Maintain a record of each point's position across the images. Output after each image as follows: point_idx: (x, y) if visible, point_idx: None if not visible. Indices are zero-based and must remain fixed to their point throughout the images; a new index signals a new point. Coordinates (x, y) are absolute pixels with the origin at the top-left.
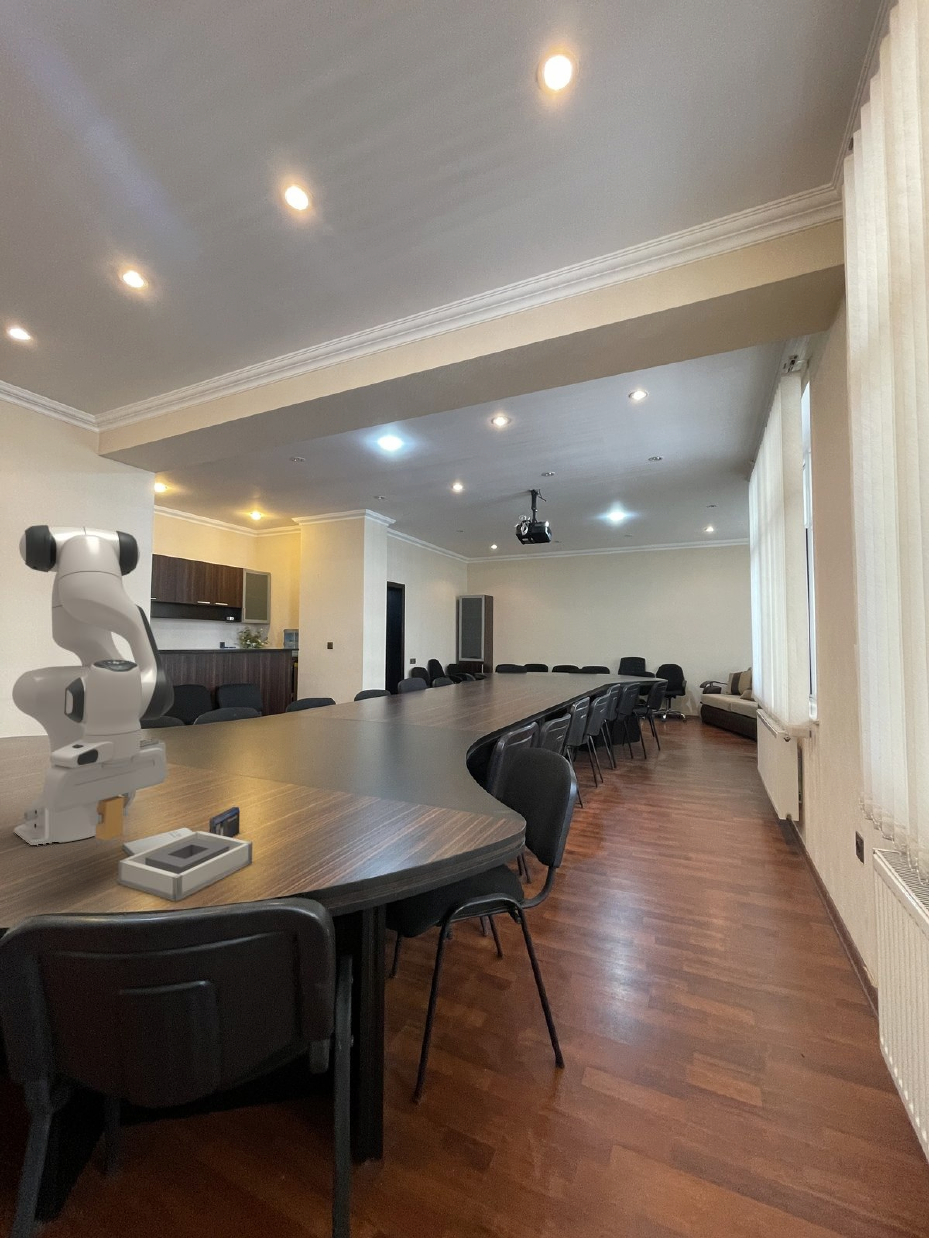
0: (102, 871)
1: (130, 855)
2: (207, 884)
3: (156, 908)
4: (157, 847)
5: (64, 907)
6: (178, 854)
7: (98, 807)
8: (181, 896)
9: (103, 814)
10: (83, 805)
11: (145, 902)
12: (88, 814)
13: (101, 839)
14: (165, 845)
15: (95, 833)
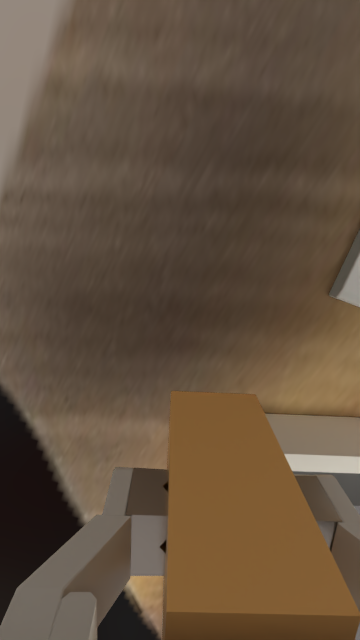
0: (227, 284)
1: (349, 251)
2: None
3: (138, 592)
4: (321, 465)
5: (47, 407)
6: None
7: (166, 558)
8: None
9: (160, 574)
10: (9, 616)
11: None
12: (91, 520)
13: (168, 438)
14: (345, 471)
15: (171, 402)
